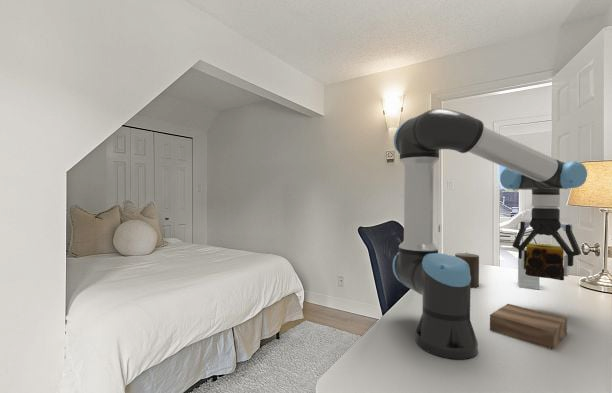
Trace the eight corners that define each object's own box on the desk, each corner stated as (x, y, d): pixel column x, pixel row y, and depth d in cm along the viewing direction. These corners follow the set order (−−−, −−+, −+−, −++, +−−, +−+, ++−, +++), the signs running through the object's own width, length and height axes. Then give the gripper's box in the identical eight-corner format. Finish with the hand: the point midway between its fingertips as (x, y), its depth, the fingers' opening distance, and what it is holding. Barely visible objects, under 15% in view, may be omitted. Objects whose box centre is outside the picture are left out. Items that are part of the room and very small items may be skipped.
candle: (564, 281, 96) (564, 249, 96) (525, 275, 102) (525, 246, 102) (563, 275, 104) (563, 246, 104) (526, 270, 110) (527, 242, 110)
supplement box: (537, 285, 136) (537, 257, 136) (539, 290, 130) (539, 260, 130) (517, 283, 140) (517, 255, 140) (518, 287, 134) (518, 258, 134)
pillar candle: (471, 289, 130) (471, 254, 130) (450, 283, 139) (450, 250, 139) (483, 286, 136) (483, 252, 136) (462, 280, 144) (462, 249, 144)
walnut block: (553, 351, 79) (553, 332, 79) (489, 331, 91) (489, 314, 91) (566, 335, 88) (566, 318, 88) (507, 318, 100) (507, 303, 100)
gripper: (594, 208, 96) (593, 278, 96) (510, 206, 115) (509, 264, 115) (589, 209, 92) (588, 281, 92) (502, 206, 110) (501, 266, 110)
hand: (544, 272), depth 103 cm, fingers closed on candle, 11 cm apart
